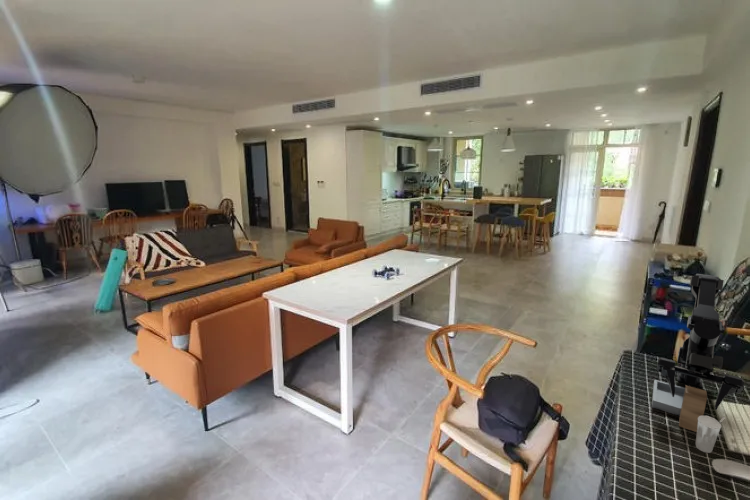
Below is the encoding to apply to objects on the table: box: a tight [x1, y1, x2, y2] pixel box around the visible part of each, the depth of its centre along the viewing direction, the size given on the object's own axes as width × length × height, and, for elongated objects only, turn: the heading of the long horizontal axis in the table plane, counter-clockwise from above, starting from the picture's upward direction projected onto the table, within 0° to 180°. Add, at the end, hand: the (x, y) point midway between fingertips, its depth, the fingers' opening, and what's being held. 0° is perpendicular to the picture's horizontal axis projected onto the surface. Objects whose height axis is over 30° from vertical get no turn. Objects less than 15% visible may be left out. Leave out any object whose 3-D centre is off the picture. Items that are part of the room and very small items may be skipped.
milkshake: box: [695, 415, 726, 454], centre depth 96 cm, size 4×5×10 cm
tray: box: [651, 379, 685, 417], centre depth 116 cm, size 14×10×2 cm
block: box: [678, 384, 708, 433], centre depth 104 cm, size 4×4×11 cm
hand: (693, 402), depth 103 cm, fingers open, 9 cm apart
